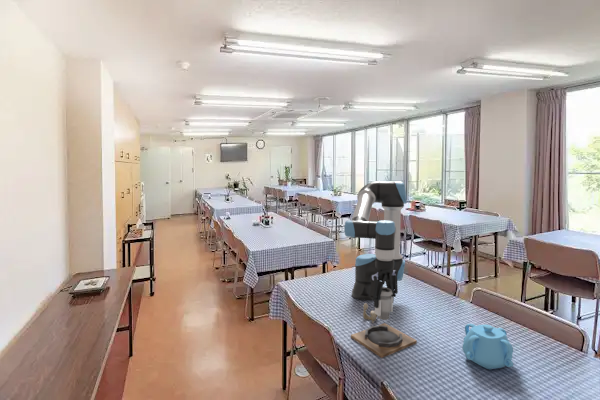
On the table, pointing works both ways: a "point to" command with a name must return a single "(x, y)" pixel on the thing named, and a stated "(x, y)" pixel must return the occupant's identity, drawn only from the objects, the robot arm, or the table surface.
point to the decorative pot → (487, 346)
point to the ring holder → (383, 339)
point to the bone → (370, 314)
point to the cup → (385, 303)
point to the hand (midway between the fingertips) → (383, 312)
